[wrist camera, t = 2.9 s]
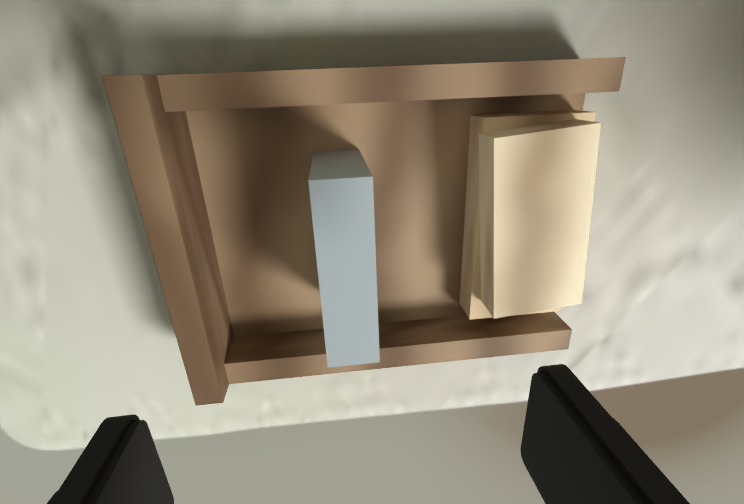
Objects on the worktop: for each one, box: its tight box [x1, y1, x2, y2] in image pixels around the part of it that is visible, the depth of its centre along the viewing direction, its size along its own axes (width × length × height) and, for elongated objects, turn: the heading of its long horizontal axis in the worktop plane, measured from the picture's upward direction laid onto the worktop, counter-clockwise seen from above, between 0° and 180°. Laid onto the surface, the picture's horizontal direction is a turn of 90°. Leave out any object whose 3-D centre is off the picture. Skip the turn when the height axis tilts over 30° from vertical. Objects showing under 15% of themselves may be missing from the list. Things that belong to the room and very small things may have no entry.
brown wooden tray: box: [102, 57, 626, 405], centre depth 22 cm, size 23×17×5 cm
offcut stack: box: [460, 110, 601, 320], centre depth 22 cm, size 6×12×4 cm, turn 2°
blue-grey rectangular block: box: [308, 149, 380, 368], centre depth 20 cm, size 2×9×7 cm, turn 2°
